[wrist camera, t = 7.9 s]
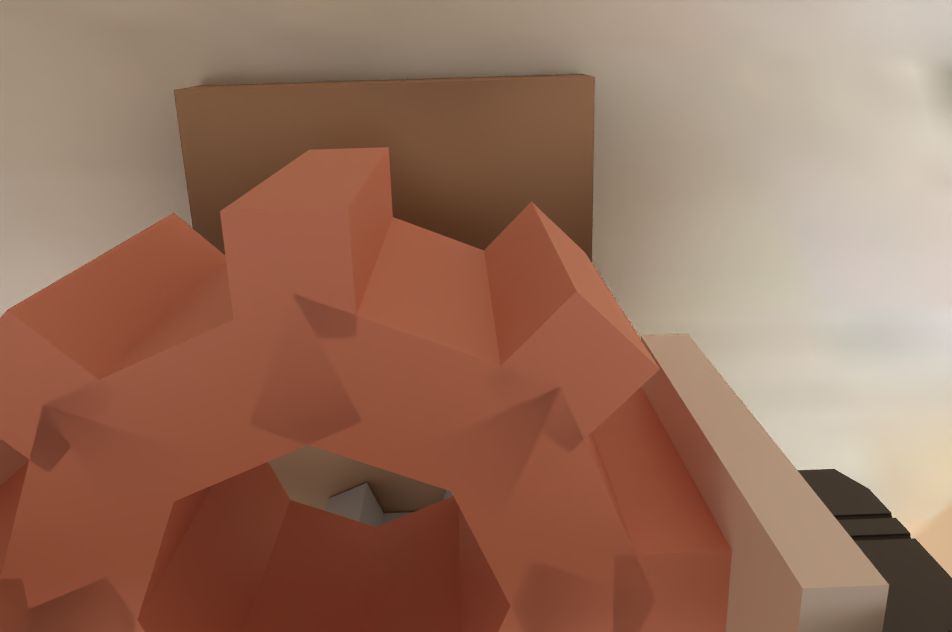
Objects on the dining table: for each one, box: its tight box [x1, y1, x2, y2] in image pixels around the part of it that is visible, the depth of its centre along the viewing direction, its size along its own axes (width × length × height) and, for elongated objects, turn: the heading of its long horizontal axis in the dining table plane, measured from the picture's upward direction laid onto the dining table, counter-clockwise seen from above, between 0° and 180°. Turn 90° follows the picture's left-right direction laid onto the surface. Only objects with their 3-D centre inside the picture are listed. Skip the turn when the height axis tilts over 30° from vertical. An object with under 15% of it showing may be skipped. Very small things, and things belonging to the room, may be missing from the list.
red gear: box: [0, 147, 732, 632], centre depth 12 cm, size 9×9×5 cm
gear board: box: [174, 74, 595, 513], centre depth 20 cm, size 20×10×10 cm, turn 2°
